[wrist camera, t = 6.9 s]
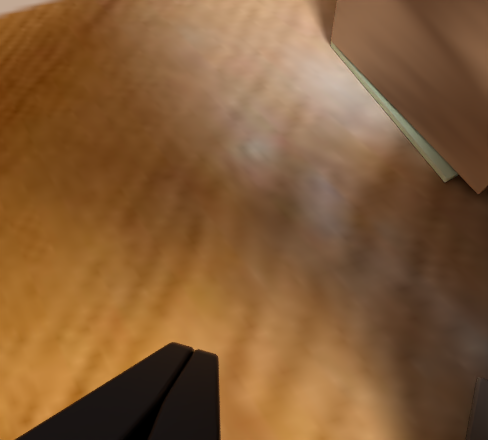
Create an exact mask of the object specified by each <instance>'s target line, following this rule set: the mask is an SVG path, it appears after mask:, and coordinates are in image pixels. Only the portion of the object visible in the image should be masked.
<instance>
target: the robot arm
mask: <svg viewBox="0 0 488 440" xmlns="http://www.w3.org/2000/svg"><path fill="white" fill-rule="evenodd" d="M15 440H221V435H220V397H219V361H218V356H217V355H216V354H213V353H210V352H206V351H203V350H199V349H198V350H195V351H194V349H193V348H192V347H189V346H186V345H182V344H179V343H175V342H172V343H169V344H167V345H166V346H164V347H163V348H161V349H159V350H158V351H156V352H155V353H153V354H151V355H150V356H148V357H147V358H145V359H143V360H142V361H140V362H139V363H137V364H135V365H134V366H132V367H131V368H129V369H127V370H126V371H124V372H123V373H121V374H119V375H118V376H116V377H115V378H113V379H111V380H110V381H108V382H107V383H105V384H103V385H102V386H100V387H99V388H97V389H95V390H94V391H92V392H91V393H89V394H87V395H86V396H84V397H82V398H81V399H79V400H78V401H76V402H74V403H73V404H71V405H70V406H68V407H66V408H65V409H63V410H62V411H60V412H58V413H57V414H55V415H54V416H52V417H50V418H49V419H47V420H46V421H44V422H42V423H41V424H39V425H38V426H36V427H34V428H33V429H31V430H30V431H28V432H26V433H25V434H23V435H22V436H20V437H18V438H17V439H15Z"/></svg>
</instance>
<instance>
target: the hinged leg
mask: <svg viewBox="0 0 488 440" xmlns="http://www.w3.org/2000/svg"><path fill="white" fill-rule="evenodd" d="M331 41H332V42H333V44H334V45H335V46H336V47H337V48H338V49H339V50H340V51H341V52H342V53H343V54H344V55H345V56H346V57H347V58H348V59H349V60H350V61H351V62H352V63H353V64H354V65H355V67H356V68H357V69H358V70H359V71H360V72H361V73H362V74H363V75H364V76H365V77H366V78H367V79H368V80H369V81H370V82H371V83H372V84H373V85H374V86H375V87H376V88H377V89H378V91H379V92H380V93H381V94H382V95H383V96H384V97H385V98H386V99H387V100H388V101H389V102H390V103H391V104H392V105H393V106H394V107H395V108H396V109H397V110H398V111H399V112H400V113H401V115H402V116H403V117H404V118H405V119H406V120H407V121H408V122H409V123H410V124H411V125H412V126H413V127H414V128H415V129H416V130H417V131H418V132H419V133H420V134H421V135H422V136H423V138H424V139H425V140H426V141H427V142H428V143H429V144H430V145H431V146H432V147H433V148H434V149H435V150H436V151H437V152H438V153H439V154H440V155H441V156H442V157H443V158H444V159H445V160H446V162H447V163H448V164H449V165H450V166H451V167H452V168H453V169H454V170H455V171H456V172H457V173H458V174H459V175H460V176H461V177H462V178H463V179H464V180H465V181H466V182H467V183H468V185H469V186H470V187H471V188H472V189H473V190H474V191H475V192H476V193H477V194H480V193H481V192H483V191H484V190H486V189H487V188H488V0H337V2H336V9H335V16H334V23H333V29H332V36H331Z"/></svg>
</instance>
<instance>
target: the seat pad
mask: <svg viewBox="0 0 488 440" xmlns="http://www.w3.org/2000/svg"><path fill="white" fill-rule="evenodd" d="M330 46H331V47H332V48H333V49H334V51H335V52H336V53H337V54H338V55H339V57H340V58H341V59H342V60H343V61H344V63H345V64H346V65H347V66H348V67H349V69H350V70H351V71H352V72H353V73H354V75H355V76H356V77H357V78H358V79H359V81H360V82H361V83H362V84H363V85H364V87H365V88H366V89H367V90H368V91H369V93H370V94H371V95H372V96H373V97H374V99H375V100H376V101H377V102H378V103H379V105H380V106H381V107H382V108H383V109H384V110H385V112H386V113H387V114H388V115H389V116H390V118H391V119H392V120H393V121H394V122H395V124H396V125H397V126H398V127H399V128H400V130H401V131H402V132H403V133H404V134H405V136H406V137H407V138H408V139H409V140H410V142H411V143H412V144H413V145H414V146H415V148H416V149H417V150H418V151H419V152H420V154H421V155H422V156H423V157H424V158H425V160H426V161H427V162H428V163H429V164H430V166H431V167H432V168H433V169H434V170H435V172H436V173H437V174H438V175H439V176H440V178H441V179H442V180H443V181H444V182H447V181H448V180H450V179H452V178H454V177H455V176H457V175H459V174H458V173H457V172H456V171H455V170H454V169H453V168H452V167H451V166H450V165H449V164H448V163H447V162H446V160H445V159H444V158H443V157H442V156H441V155H440V154H439V153H438V152H437V151H436V150H435V149H434V148H433V147H432V146H431V145H430V144H429V143H428V142H427V141H426V140H425V139H424V138H423V136H422V135H421V134H420V133H419V132H418V131H417V130H416V129H415V128H414V127H413V126H412V125H411V124H410V123H409V122H408V121H407V120H406V119H405V118H404V117H403V116H402V115H401V113H400V112H399V111H398V110H397V109H396V108H395V107H394V106H393V105H392V104H391V103H390V102H389V101H388V100H387V99H386V98H385V97H384V96H383V95H382V94H381V93H380V92H379V91H378V89H377V88H376V87H375V86H374V85H373V84H372V83H371V82H370V81H369V80H368V79H367V78H366V77H365V76H364V75H363V74H362V73H361V72H360V71H359V70H358V69H357V68H356V67H355V65H354V64H353V63H352V62H351V61H350V60H349V59H348V58H347V57H346V56H345V55H344V54H343V53H342V52H341V51H340V50H339V49H338V48H337V47H336V46H335V45H334V44H333V42H332V41H331V45H330Z"/></svg>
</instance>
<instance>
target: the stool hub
mask: <svg viewBox="0 0 488 440" xmlns="http://www.w3.org/2000/svg"><path fill="white" fill-rule="evenodd" d="M466 440H488V380H486V379H483V378H477V383H476V388H475V393H474V398H473V404H472V409H471V414H470V420H469V425H468V430H467V435H466Z"/></svg>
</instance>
